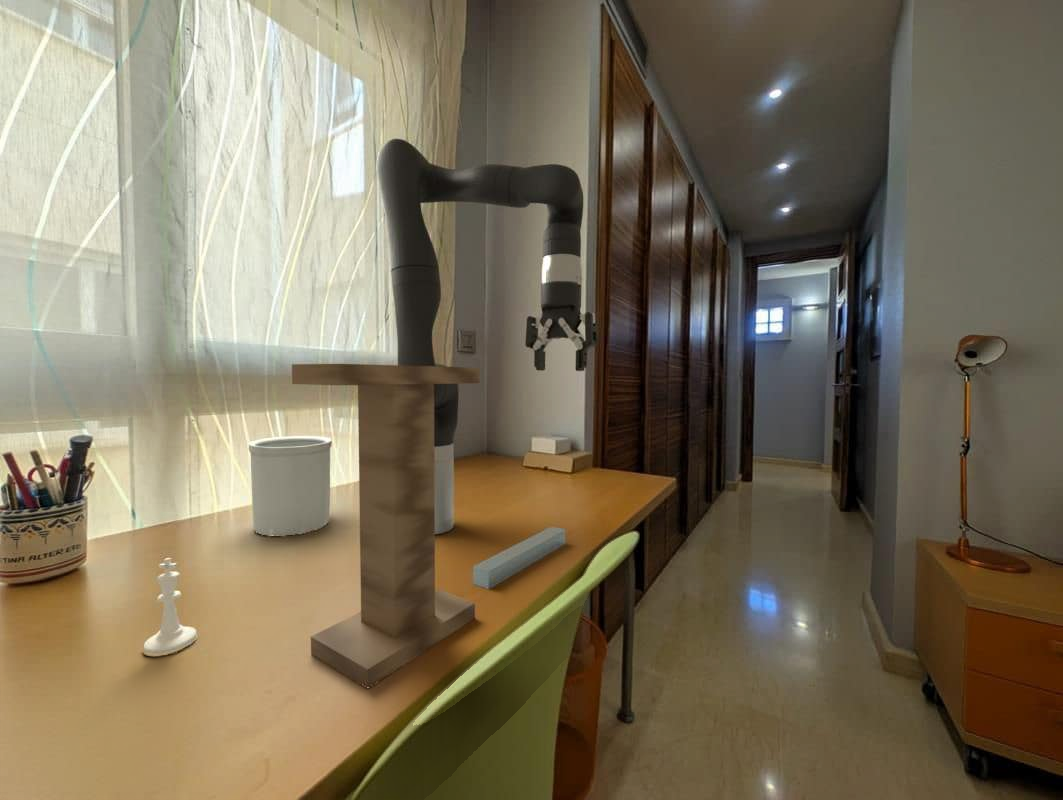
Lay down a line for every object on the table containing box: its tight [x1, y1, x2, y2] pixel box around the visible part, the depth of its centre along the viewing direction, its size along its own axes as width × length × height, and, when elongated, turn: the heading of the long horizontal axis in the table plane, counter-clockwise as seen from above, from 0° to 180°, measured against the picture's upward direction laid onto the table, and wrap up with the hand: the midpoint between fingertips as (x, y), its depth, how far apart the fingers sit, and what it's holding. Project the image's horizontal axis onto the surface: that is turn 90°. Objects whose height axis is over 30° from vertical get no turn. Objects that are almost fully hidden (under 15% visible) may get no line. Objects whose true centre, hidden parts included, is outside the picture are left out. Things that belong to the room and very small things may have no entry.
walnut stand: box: [291, 363, 480, 688], centre depth 54 cm, size 20×10×32 cm, turn 146°
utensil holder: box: [248, 435, 333, 537], centre depth 93 cm, size 15×15×18 cm
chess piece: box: [143, 557, 198, 655], centre depth 52 cm, size 5×5×10 cm
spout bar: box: [472, 526, 567, 590], centre depth 76 cm, size 22×3×3 cm, turn 145°
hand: (559, 370), depth 86 cm, fingers open, 8 cm apart
